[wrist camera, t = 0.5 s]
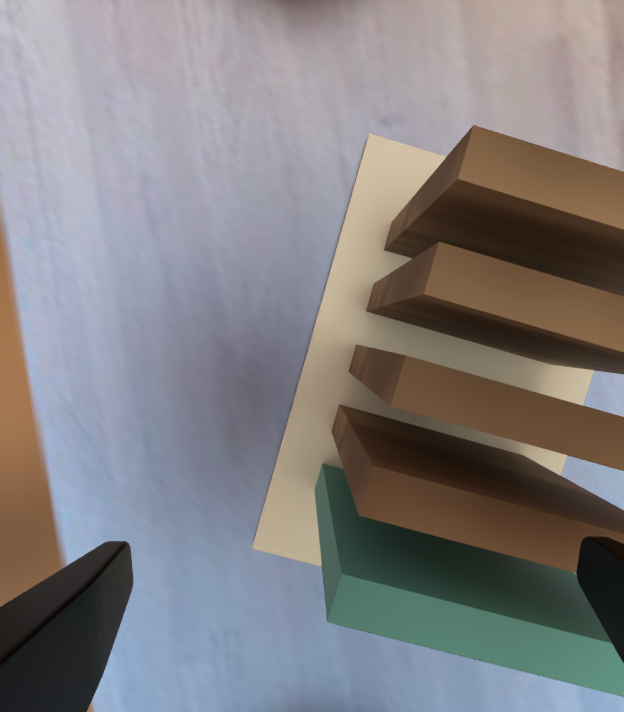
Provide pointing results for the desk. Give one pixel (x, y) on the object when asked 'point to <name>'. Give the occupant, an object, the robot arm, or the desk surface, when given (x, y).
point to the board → (356, 326)
